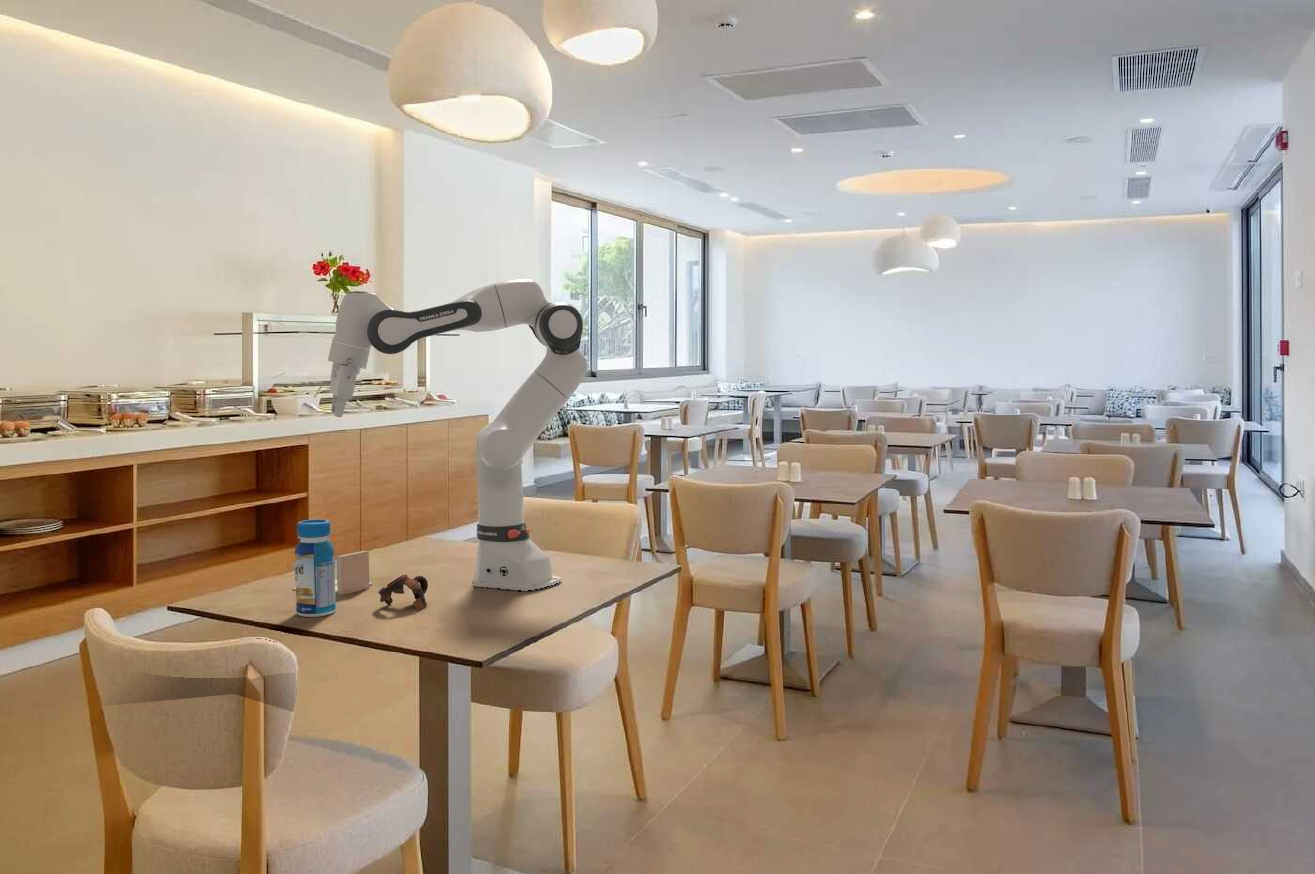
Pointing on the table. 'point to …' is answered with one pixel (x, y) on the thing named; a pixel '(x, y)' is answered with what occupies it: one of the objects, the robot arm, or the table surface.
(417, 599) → the brown ring-shaped piece
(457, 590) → the table surface
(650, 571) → the table surface
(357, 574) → the glazed tile
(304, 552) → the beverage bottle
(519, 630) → the table surface
